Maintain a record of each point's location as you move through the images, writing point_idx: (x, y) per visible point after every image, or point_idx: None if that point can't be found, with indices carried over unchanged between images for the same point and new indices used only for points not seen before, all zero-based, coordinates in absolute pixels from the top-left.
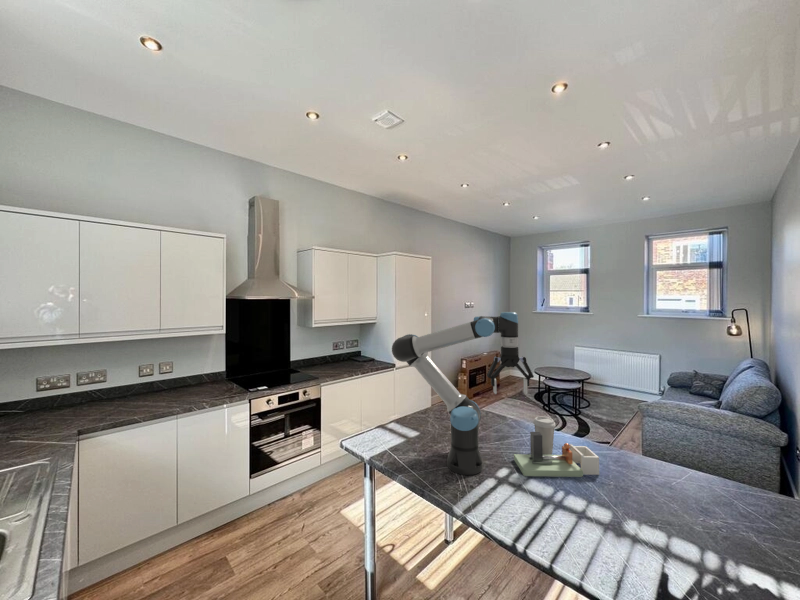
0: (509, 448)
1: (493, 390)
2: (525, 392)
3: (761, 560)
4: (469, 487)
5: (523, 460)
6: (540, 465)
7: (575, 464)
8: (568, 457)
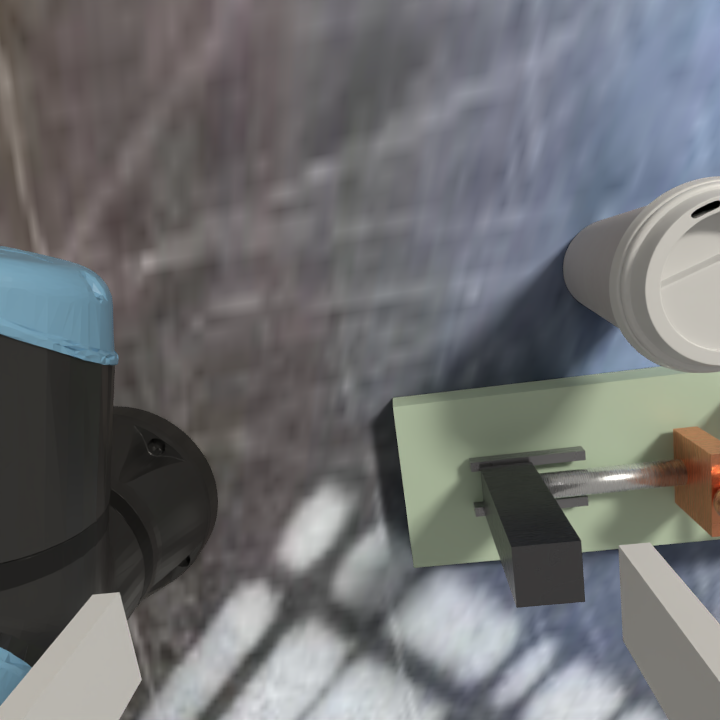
0: (390, 255)
1: (76, 625)
2: (632, 647)
3: None
4: (158, 660)
5: (433, 472)
6: None
7: None
8: (695, 521)
